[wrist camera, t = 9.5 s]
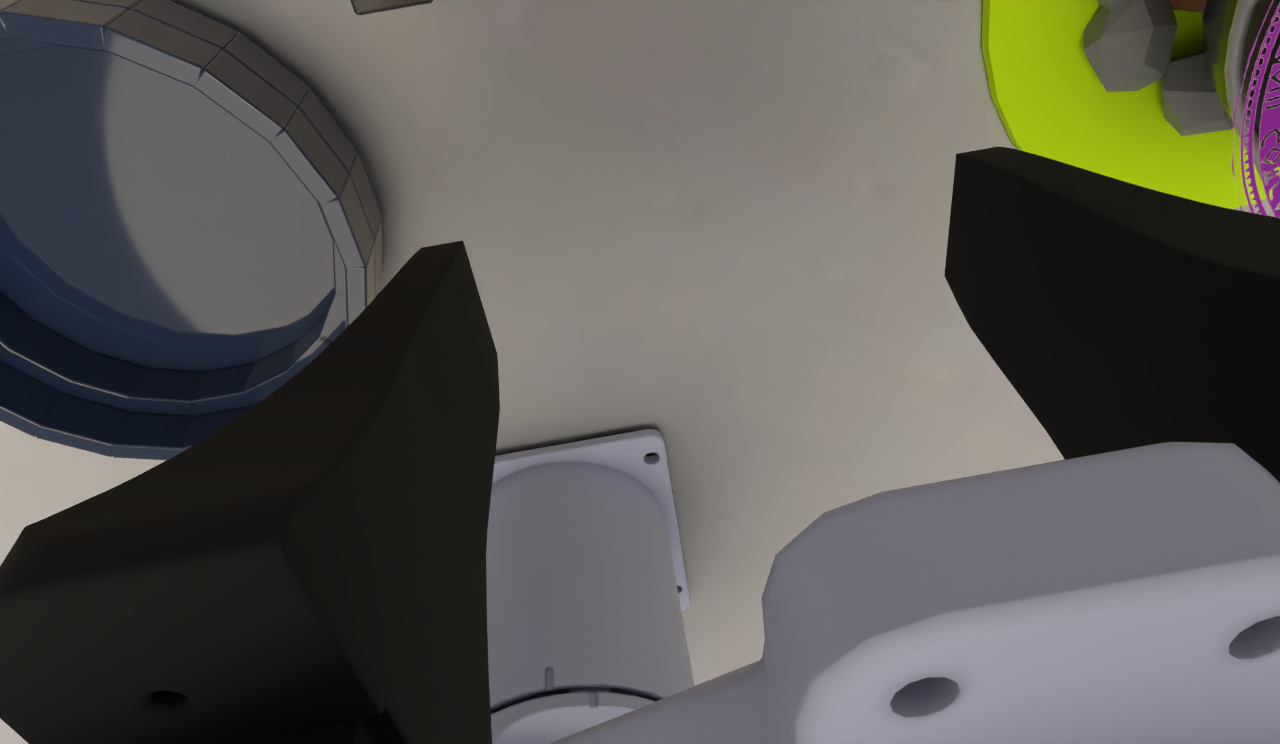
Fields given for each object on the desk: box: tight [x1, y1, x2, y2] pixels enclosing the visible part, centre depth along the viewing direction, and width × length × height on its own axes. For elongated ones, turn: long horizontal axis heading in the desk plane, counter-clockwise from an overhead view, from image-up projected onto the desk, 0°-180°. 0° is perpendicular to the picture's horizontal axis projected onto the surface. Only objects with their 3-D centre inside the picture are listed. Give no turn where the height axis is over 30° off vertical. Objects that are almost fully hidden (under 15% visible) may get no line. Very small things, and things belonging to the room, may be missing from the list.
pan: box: [0, 0, 382, 460], centre depth 21 cm, size 11×11×3 cm
